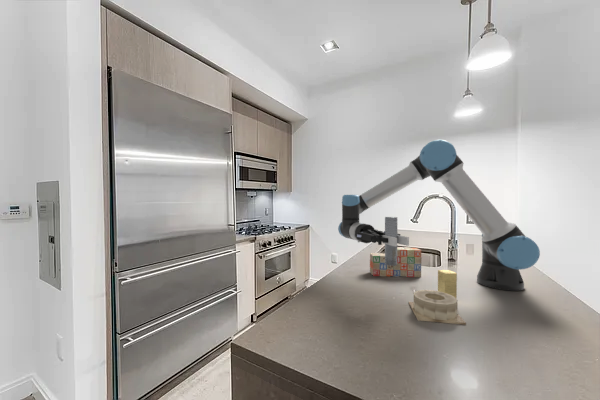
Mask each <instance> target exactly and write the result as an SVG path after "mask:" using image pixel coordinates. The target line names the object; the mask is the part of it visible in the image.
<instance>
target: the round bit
mask: <svg viewBox="0 0 600 400" xmlns="http://www.w3.org/2000/svg"><path fill="white" fill-rule="evenodd" d="M384 231H385V235H386V236H391V237H395V238H397V233H398V217H397V216H385V217H384ZM397 247H398V245H397V246H391V245H388V244H384V253H385V264H386V265H390V266H396V265H397Z"/></svg>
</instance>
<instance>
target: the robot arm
mask: <svg viewBox="0 0 600 400" xmlns="http://www.w3.org/2000/svg"><path fill="white" fill-rule="evenodd" d="M408 164H409V165H408V166H406V167H405V168H402V170H399V171H398V172H396V173H394V174H392V175H391V176H389V177H388V178H386V179H384V180H383V181H381V182H380V183H378V184H376V185H374V186H373V187H372V188H371V187H370V188H369V189H368V190H366V191H364V193H362V194H360V195H359V194H344V195H342V199H341V212H342V213H341V214H342V216H341V217H342V218H341V222H340V223H339V225H338V228H337V229H338V233H339V235H341V236H342V237H344V238H345V239H350V240H354V241H357V243H360V242H361V243H364V244H370V243H373V244H376V243H377V245H378V246H381V245H383V244H384V245H385V244H388V245H391V246H397V247H398V245H402V246H405V247H409V246H410V237H409V236H405V235H401V234H400V233H398V232H397V238H395V237H391V236H386V235H385V230H384V231H383V230H378V229H375V228H374V226H372V225H371V224H367V223H363V222H362V223H361V222H360V214H362V213H363V212H365V211H366V210H369V209H371V208H372V207H374V206H375V205H377V204H379V203H381V202H382V201H384V200H386V199H387V198H389V197H391V196H392V195H394V194H396V193H398V192H400V191H402V190H404V189H405V188H407V187H408V186H410V185H412V184H414V183H415V182H417V181H424V180H425V179H427V178H429V177H431V178H432V179H433V181H434V182H435V183H436V182H437V183H441V184H442V186H444V188H445V189H446V191H448V192H449V194H450V195H451V196H452V197H453V199H454V200H455V202H456V203H457V204H458V205H459V206H460V208H461V209H462V210H463V211H464V213H465V214H466V215H467V216H468V218H469V219H470V220H471V221H472V223H473V224H474V225H475V226H476V228H477V229H478V230H479V231H480V233H481V237H482V238H481V243H482V244H481V245H482V246H481V255H482V256H481V265H480V268H479V270H478V273H477V275H476V282H477V283H478V284H480V285H482V286H484V287H488V288H492V289H496V290H503V291H511V292H512V291H513V292H514V291H515V292H516V291H523V290H524V289H525V282H524V281H525V280H523V276H522V274H521V272H520V270H526V269H529V268H531V267H533V266H534V265H536V263H537V262H538V260H539V259H540V256H541V251H540V248H539V246H538V244H537V243H536V241H534V240H532V238H531V237H528V236H527V235H525V234H524V233H523V232H522V230H521V228H519V226H517V225H516V223H512V222H508V221H507V220H506V219H505V218H504V216H503V215H502V214H501V213H500V212H499V211H498V209H497V208H496V207H495V205H493V204H492V202H491V201H490V200H489V198H488V197H487V196H486V195H485V194H484V192H482V190H481V189H480V188H479V186H477V184H476V183H475V181H473V179H472V178H471V177H470V176H469V174H467V172H466V171H465V170H464V162H463V160H462V159H461V157H459V155H457V151H456V147H455V146H454V145H453V143H451V142H449V141H448V140H445V139H435V140H431V141H430V142H428V143H427V144H425V146H423V147H422V149H420V153H419V155H418V156H417V157H416V158H414V159H413V160H411V161H410V162H409V163H408Z"/></svg>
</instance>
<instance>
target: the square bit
mask: <svg viewBox="0 0 600 400" xmlns="http://www.w3.org/2000/svg"><path fill="white" fill-rule="evenodd" d="M457 279H458V278H457V272H455V271H452V270H450V269H437V291H439V292H444V293H447V294H449V295H452V296H454V297H455V298H456V299H457V295H458V294H457V293H458V292H457V289H458V288H457V286H458V285H457V284H458V283H457V282H458V281H457ZM457 300H458V299H457Z"/></svg>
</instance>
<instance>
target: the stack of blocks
mask: <svg viewBox="0 0 600 400" xmlns="http://www.w3.org/2000/svg"><path fill="white" fill-rule="evenodd" d="M422 258H423V257H422V249H420V248H417V247H409V246H402V247H401V246H397V265H396V266H390V265H386V264H385V252H384V253H383V252H382V253H380V252H370V253H369V272H371V273H370V274H371V276H372V275H373V276H372V277H390V276H406V277H405V278H422Z"/></svg>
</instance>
